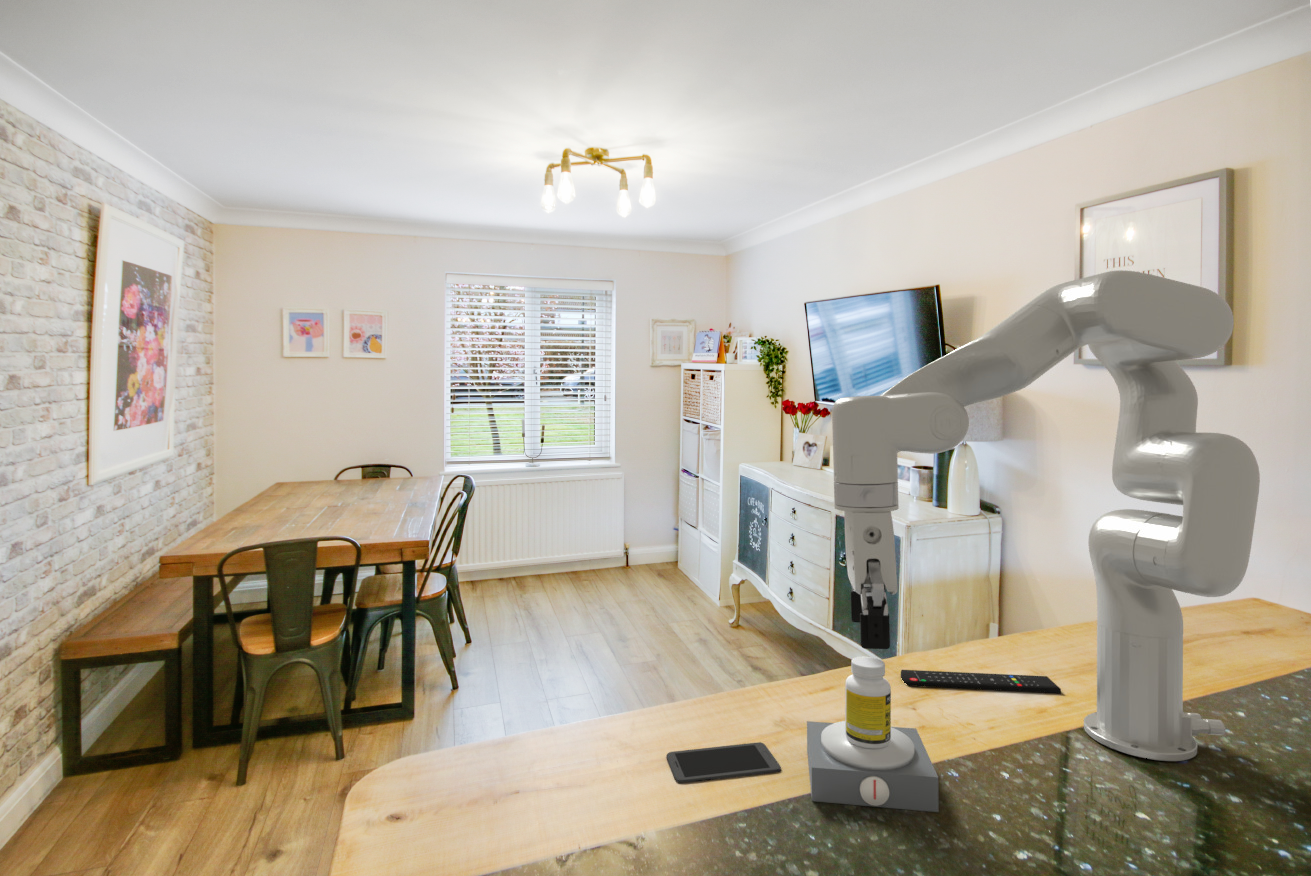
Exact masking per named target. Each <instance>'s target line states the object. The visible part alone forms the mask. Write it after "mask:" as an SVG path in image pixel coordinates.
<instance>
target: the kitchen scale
mask: <svg viewBox="0 0 1311 876" xmlns="http://www.w3.org/2000/svg"><path fill="white" fill-rule="evenodd" d="M806 752H807V754H806V755H807V764H808V775H809V783H810V785H809V786H810V793H811V794H810V795H811V801H812V802H816V803H817V802H818V803H827V804H829V803H830V804H841V805H842V804H843V805H851V806H852V805H853V806H862V807H873V808H874V807H876V808H886V809H897V810H910V811H920V812H921V811H922V812H929V813H930V812H931V813H939V812H940V811H939V776H938V773H937V771H936V768H935V767H934V765H933V763H932V760H931V757H930V756H929V754H928V752H927V749H926V747H925V745H924V743H923V741H922V738H921V736H920V734H919V731H918V729H917V728H913V727H899V726H891V739H890V743H889V745H887V746H886V747H883V748H878V749H870V748H863V747H860V746H857V745H855V744H853V743H851V742H850V741H849V740H848V739H847V738H846V735H845V720H842V721H836V722H823V721H809V720H808V721H807V720H806Z"/></svg>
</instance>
